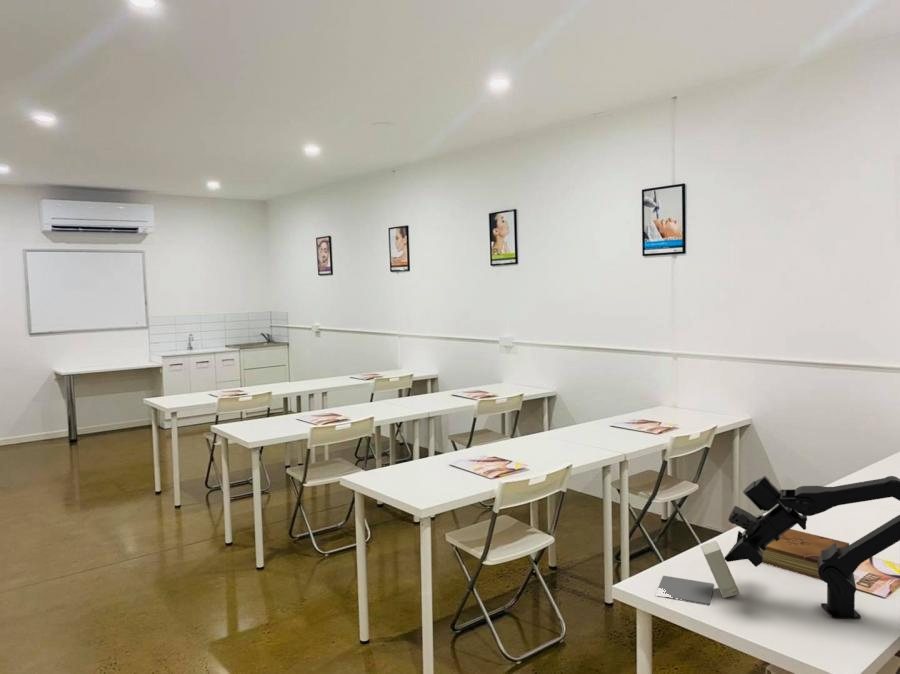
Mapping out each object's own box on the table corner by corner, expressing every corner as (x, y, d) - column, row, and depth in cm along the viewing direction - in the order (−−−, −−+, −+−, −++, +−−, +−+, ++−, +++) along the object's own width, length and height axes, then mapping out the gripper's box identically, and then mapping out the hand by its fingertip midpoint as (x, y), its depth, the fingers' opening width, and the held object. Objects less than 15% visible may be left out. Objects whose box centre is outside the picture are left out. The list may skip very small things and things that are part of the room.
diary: (849, 561, 187) (849, 542, 186) (824, 583, 175) (824, 562, 174) (767, 539, 204) (767, 521, 204) (739, 557, 192) (739, 538, 191)
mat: (713, 585, 174) (713, 583, 174) (709, 605, 163) (709, 603, 163) (663, 576, 180) (663, 575, 180) (655, 595, 169) (655, 594, 169)
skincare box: (740, 593, 166) (721, 549, 166) (722, 599, 167) (704, 554, 167) (734, 582, 172) (716, 539, 172) (717, 587, 173) (699, 545, 173)
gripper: (750, 488, 173) (706, 523, 179) (747, 510, 157) (698, 548, 163) (783, 521, 170) (737, 555, 176) (784, 547, 154) (732, 584, 160)
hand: (725, 559), depth 169 cm, fingers closed
